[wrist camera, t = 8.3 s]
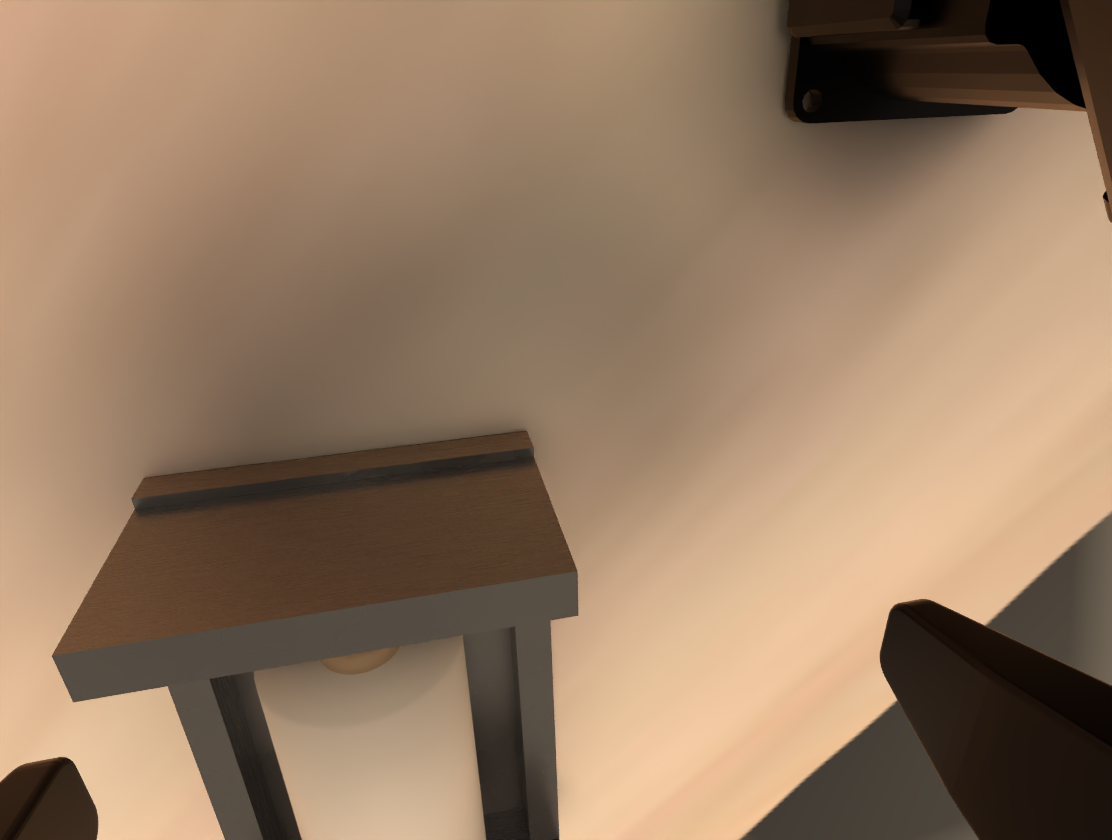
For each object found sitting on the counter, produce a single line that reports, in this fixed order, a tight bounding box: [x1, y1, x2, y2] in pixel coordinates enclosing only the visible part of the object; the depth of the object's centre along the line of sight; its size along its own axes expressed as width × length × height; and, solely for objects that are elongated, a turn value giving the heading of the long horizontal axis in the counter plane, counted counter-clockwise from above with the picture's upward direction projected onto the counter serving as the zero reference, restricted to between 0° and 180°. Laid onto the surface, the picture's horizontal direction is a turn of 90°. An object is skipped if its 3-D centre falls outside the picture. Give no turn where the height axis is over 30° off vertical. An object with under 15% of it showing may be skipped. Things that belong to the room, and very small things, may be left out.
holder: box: [52, 431, 578, 840], centre depth 20 cm, size 10×16×6 cm, turn 2°
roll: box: [254, 635, 486, 840], centre depth 20 cm, size 10×5×5 cm, turn 2°
